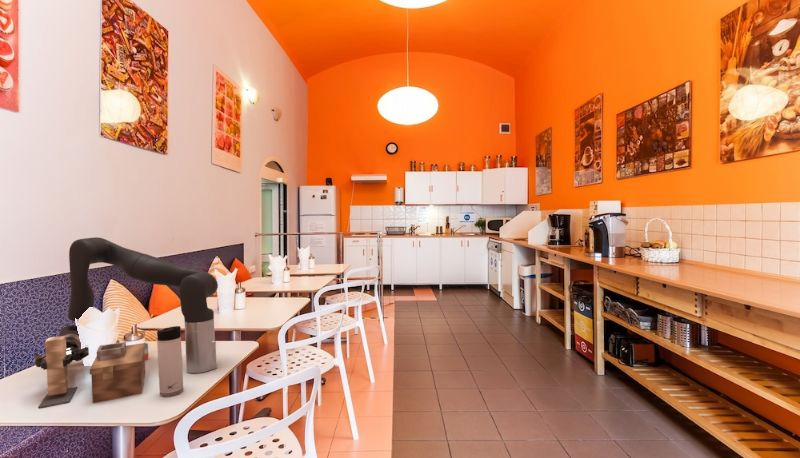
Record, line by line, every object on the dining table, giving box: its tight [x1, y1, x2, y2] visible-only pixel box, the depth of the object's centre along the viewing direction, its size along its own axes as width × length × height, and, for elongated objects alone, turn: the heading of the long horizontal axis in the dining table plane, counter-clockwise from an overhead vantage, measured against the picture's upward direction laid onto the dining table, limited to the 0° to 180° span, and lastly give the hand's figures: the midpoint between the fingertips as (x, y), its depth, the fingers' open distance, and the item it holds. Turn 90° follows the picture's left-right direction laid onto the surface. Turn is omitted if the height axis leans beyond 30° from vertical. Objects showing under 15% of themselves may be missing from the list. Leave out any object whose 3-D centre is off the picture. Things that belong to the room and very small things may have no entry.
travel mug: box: [156, 325, 184, 398], centre depth 125 cm, size 6×7×20 cm
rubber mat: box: [37, 386, 79, 409], centre depth 124 cm, size 7×12×1 cm, turn 29°
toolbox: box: [89, 341, 146, 404], centre depth 131 cm, size 13×21×13 cm, turn 29°
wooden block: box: [44, 335, 70, 396], centre depth 123 cm, size 4×4×16 cm
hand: (54, 364), depth 121 cm, fingers closed on wooden block, 4 cm apart
